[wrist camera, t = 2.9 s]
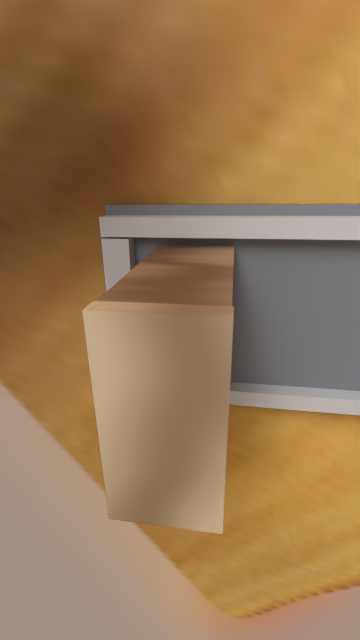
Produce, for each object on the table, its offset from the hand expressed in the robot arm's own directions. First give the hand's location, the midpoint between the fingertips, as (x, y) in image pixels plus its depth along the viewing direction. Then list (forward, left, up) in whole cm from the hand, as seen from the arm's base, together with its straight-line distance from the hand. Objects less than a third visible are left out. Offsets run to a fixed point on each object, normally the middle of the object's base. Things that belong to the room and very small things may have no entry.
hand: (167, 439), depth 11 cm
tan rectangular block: (0, 0, -10) cm, 10 cm away
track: (+6, 0, -11) cm, 13 cm away
